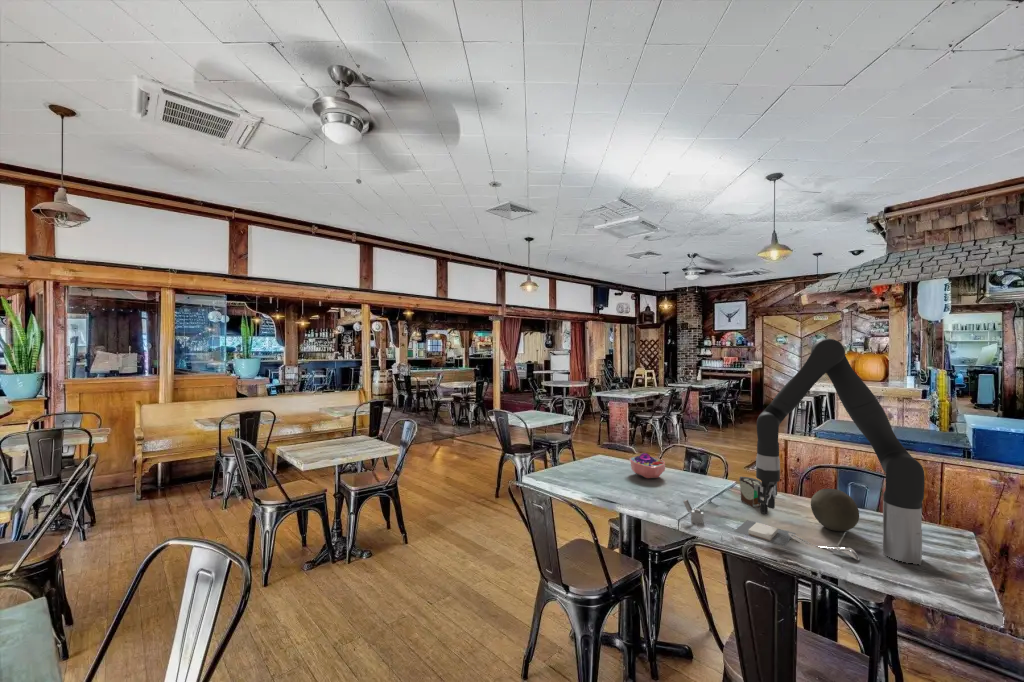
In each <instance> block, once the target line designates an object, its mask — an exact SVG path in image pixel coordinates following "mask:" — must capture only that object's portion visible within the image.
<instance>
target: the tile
mask: <svg viewBox="0 0 1024 682" xmlns="http://www.w3.org/2000/svg"><path fill="white" fill-rule="evenodd" d="M778 529H779V528H778V527H774V526H770V525H767V524H764V523H761V522H756V523H755V524H754V525H753V526H752V527H751V528H750V529H749V530H748V534H750V535H753V536H757V537H760V538H763V539H767V540H771V539H772V538H773V537H774V536H775V535H776V534H777V533H778Z"/></svg>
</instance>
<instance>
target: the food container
mask: <svg viewBox="0 0 1024 682" xmlns="http://www.w3.org/2000/svg"><path fill="white" fill-rule="evenodd" d="M738 479H739V480H738V481H739V485H740V486H739V489H740V490H739V492H740V501H741V502H743V503H744V504H746V505H748V506H750V507H752V508H759V509H760V503H758V486H760V485H761V483H762V481H761V480H759V479H757V478H753V477H748V476H739V478H738Z"/></svg>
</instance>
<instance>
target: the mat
mask: <svg viewBox="0 0 1024 682" xmlns="http://www.w3.org/2000/svg"><path fill="white" fill-rule="evenodd" d="M755 523H757V522H756V521H752V520H749V519H747V520H745V521H744V522H742V524H740V525H739V526H738V527H737V528H736V529H735V530H734V532H735V533H740V534H743V535H746V536H749V537H752V538H755V539H758V540H762V541H766V542H770V543H772V544H776V545H779V546H781V547H782V546H783V547H786V545H787V544H789V542H790V541H791V539H792V538H791V537H790V536H789V535H788V533H792V534H795V535H796V533H795V532H792V531H789V530H785V529H782V528H778V533H777V534H776V535H775V536H774V537H773V538H772V539H771V540H767V539H763V538H760V537H757V536H753V535H750V534H748V530H749V529H750V528H751V527H752V526H753V525H754V524H755ZM791 536H793V535H791ZM793 537H794V536H793Z"/></svg>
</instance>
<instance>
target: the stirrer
mask: <svg viewBox="0 0 1024 682" xmlns="http://www.w3.org/2000/svg"><path fill="white" fill-rule="evenodd" d="M792 533H793V532H792ZM792 533H788V535H789V536H790V537H791V539H793V540H794V541H796V542H798V543H800V544H804V545H809V546H813V547H815V548H820V549H832V550H837V551H840V552H841V553H844V554H846V555H847V556H850V557H851V558H853V559H855V560H856V561H860V557H859V555H858V553H857V552H856V551H855V550H854V549H853V548H851V547H848V546H845V545H844V546H824V545H823V546H822V545H817V544H814V543H811V542H808V541H807V540H805V539H803V538H801V537H799V536H798V535H796V534H792ZM791 535H793V536H791Z"/></svg>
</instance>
